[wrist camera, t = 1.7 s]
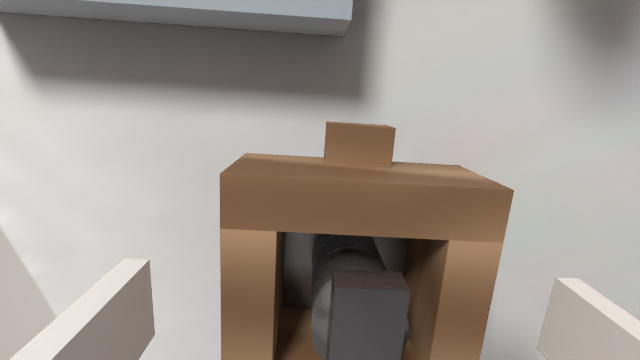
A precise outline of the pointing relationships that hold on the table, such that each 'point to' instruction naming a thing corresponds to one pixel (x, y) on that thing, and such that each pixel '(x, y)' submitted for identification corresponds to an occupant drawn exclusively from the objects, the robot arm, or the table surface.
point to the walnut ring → (361, 220)
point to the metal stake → (349, 293)
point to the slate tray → (204, 13)
